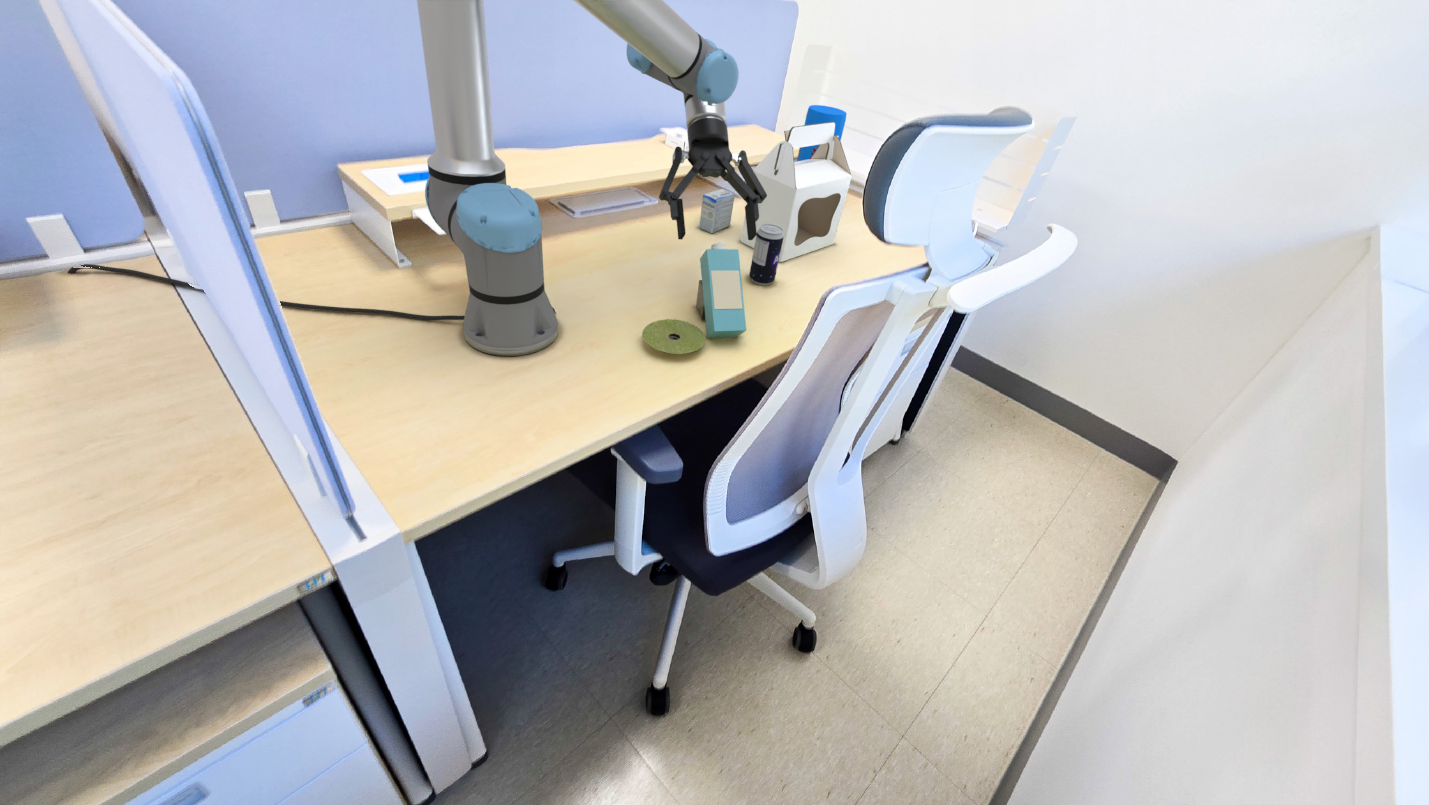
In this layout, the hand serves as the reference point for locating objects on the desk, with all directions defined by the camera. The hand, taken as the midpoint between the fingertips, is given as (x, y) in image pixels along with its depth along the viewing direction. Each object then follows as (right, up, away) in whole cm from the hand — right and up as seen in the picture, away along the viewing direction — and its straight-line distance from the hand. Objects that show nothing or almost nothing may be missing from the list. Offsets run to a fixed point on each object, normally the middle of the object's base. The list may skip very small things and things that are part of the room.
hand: (717, 237), depth 106 cm
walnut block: (-1, -13, +7) cm, 15 cm away
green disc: (-8, -20, -3) cm, 22 cm away
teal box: (0, -16, +3) cm, 16 cm away
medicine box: (-1, +14, +42) cm, 44 cm away
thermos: (+27, +30, +67) cm, 79 cm away
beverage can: (+10, -4, +21) cm, 24 cm away
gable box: (+18, +10, +40) cm, 45 cm away
